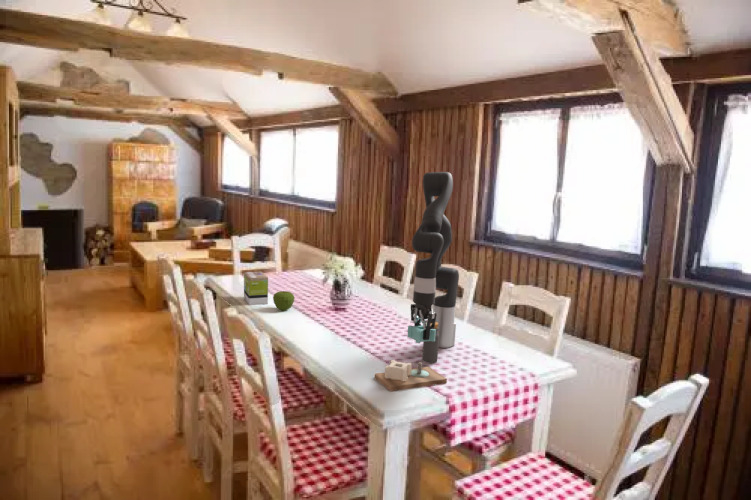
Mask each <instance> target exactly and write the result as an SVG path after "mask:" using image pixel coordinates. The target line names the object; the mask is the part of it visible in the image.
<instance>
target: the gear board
mask: <svg viewBox="0 0 751 500" xmlns="http://www.w3.org/2000/svg"><path fill="white" fill-rule="evenodd" d="M397 366H398V367H401V366H400V365H397ZM374 379H375V380H376V381H378V382H379V383H380V384H381V385H382V386H384V388H386V389H387V390H388V391H389V392H394V391H401V390H407V389H415V388H422V387H428V386H433V385H434V386H435V384H436V385H440V384H441V385H442V383H443V384H446V383H448V382H447V380H448V379H447V378H446V377H445V376H444V375H442V374H441V373H439V372H437V371H436V370H435V369H433V368H432V367H430V366H423V362H417V367H415V368H412V369H411V375H409V376H407V380H406V381H404V382H403V381H401V380H398V379H393V378H388V379H386V378H385V371H384V372H379V373H374Z"/></svg>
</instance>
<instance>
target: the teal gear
mask: <svg viewBox="0 0 751 500" xmlns="http://www.w3.org/2000/svg"><path fill="white" fill-rule="evenodd" d="M426 326H427V325H426ZM423 329H424V328H423V324H421V325H420V326H414V325H408V326H407V338H409V339H413V340H414V341H415V343H416V344H420V343H423V342H425V341H433V342H434V341H435V335H436V329H430V337H429V340H423Z"/></svg>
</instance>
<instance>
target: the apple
mask: <svg viewBox="0 0 751 500" xmlns="http://www.w3.org/2000/svg"><path fill="white" fill-rule="evenodd" d="M272 298H273V303H274V305H275V307H276V309H277V310H278V311H280V312H284V311H285V312H286V311H287V310H289V309H291V308H292V306H293V305H294V303H295V295H294V294H293V293H292V292H290V291H288V290H286V291H285V290H283V291H282V290H281V291H277V292H275V293H274V294H273V296H272Z"/></svg>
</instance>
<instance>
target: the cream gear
mask: <svg viewBox="0 0 751 500" xmlns="http://www.w3.org/2000/svg"><path fill="white" fill-rule="evenodd" d="M397 365H400V366H401V367H398V366H397ZM412 365H413V364H412V363H410V362H399V361H396V360H393V359H392V360H390V363H389V365H385V366H384V372H385V378H386V379H388V378H393V379H398V380H401V381H403V382H404V381H406V380H407V376H409V375H411V369H413V368H412V367H413V366H412Z"/></svg>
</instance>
